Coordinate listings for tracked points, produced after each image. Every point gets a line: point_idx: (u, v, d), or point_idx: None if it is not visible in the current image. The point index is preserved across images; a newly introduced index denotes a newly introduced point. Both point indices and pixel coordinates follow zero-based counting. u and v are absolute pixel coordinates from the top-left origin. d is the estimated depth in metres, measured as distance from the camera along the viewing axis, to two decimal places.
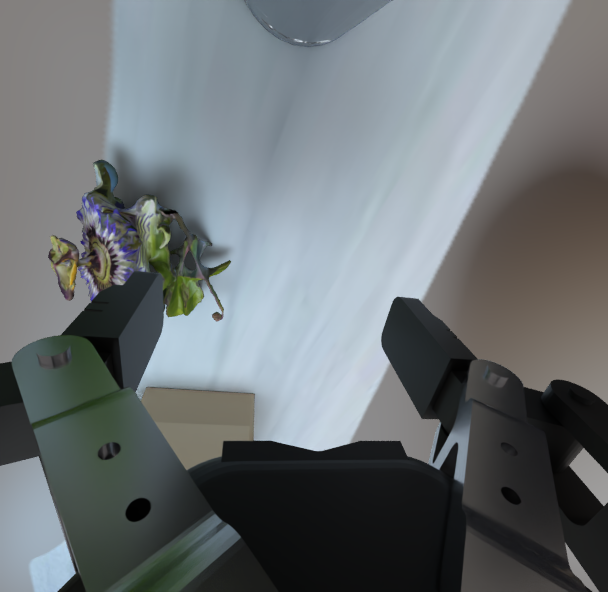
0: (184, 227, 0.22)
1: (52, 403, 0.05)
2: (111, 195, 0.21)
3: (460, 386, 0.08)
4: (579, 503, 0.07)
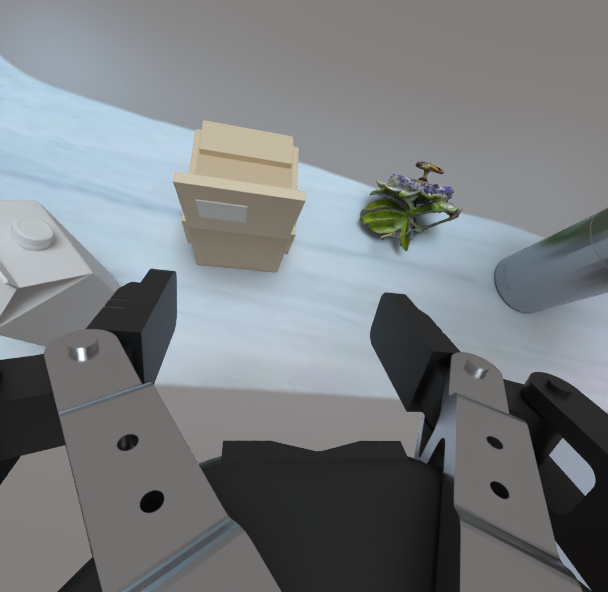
0: (441, 222, 0.44)
1: (78, 393, 0.05)
2: None
3: (442, 379, 0.08)
4: (560, 492, 0.08)
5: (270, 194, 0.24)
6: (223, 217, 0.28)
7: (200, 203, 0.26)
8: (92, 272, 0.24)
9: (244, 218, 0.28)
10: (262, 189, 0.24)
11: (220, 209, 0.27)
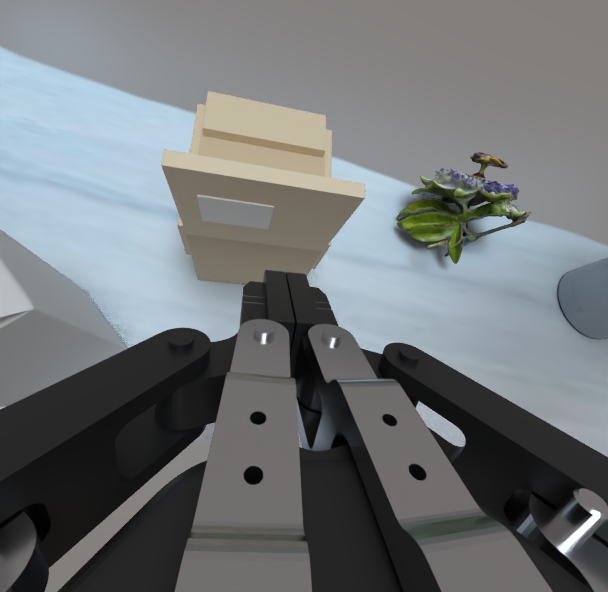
0: (501, 228, 0.35)
1: (246, 366, 0.07)
2: None
3: (303, 349, 0.08)
4: None
5: (312, 187, 0.16)
6: (236, 221, 0.20)
7: (204, 201, 0.17)
8: (33, 307, 0.15)
9: (267, 223, 0.19)
10: (300, 179, 0.16)
11: (233, 210, 0.18)
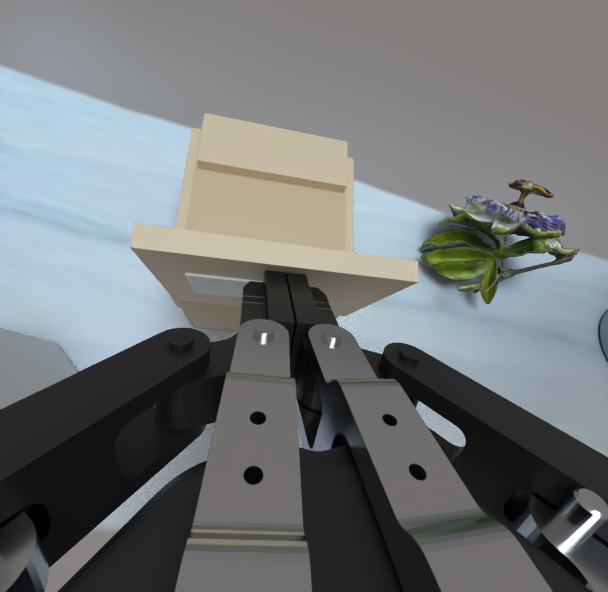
0: (542, 266, 0.31)
1: (246, 366, 0.07)
2: None
3: (303, 349, 0.08)
4: None
5: (347, 270, 0.11)
6: (239, 295, 0.15)
7: (195, 279, 0.13)
8: None
9: None
10: (330, 259, 0.11)
11: (235, 286, 0.13)
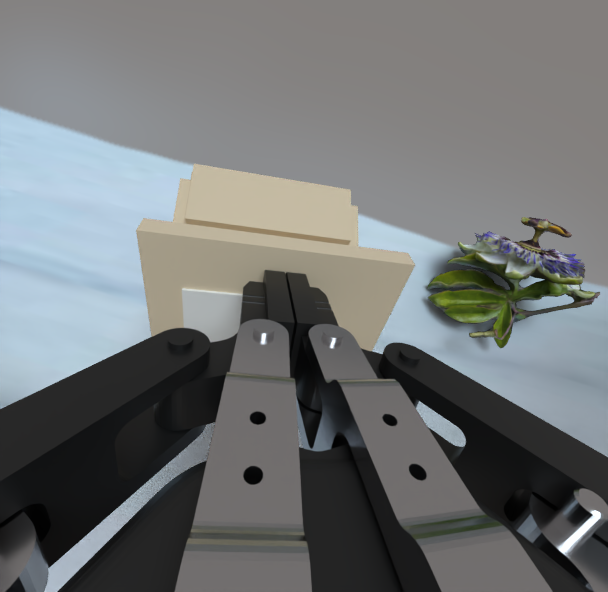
0: (560, 309, 0.29)
1: (246, 366, 0.07)
2: None
3: (304, 349, 0.08)
4: None
5: (344, 255, 0.12)
6: None
7: (191, 299, 0.12)
8: None
9: None
10: (327, 247, 0.12)
11: (232, 314, 0.13)
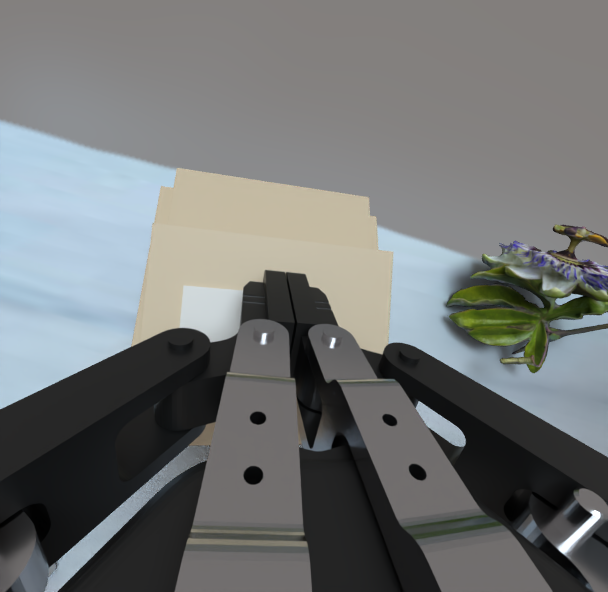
0: (600, 328, 0.25)
1: (246, 366, 0.07)
2: None
3: (303, 349, 0.08)
4: None
5: (331, 246, 0.13)
6: None
7: (191, 297, 0.12)
8: None
9: None
10: None
11: (232, 316, 0.12)
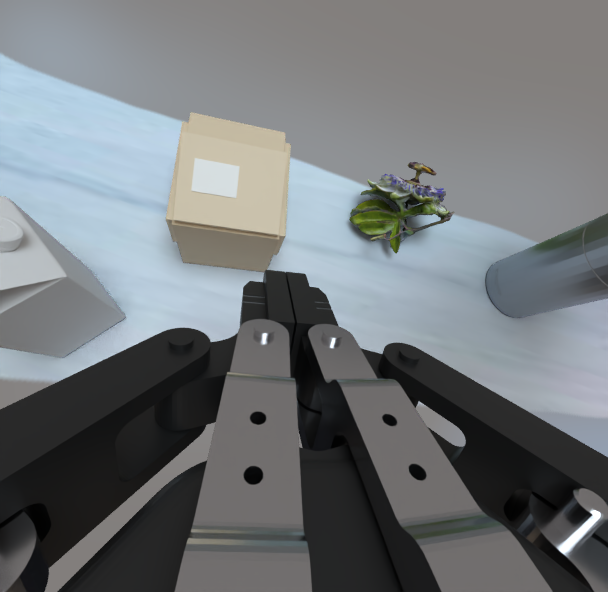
0: (432, 225, 0.43)
1: (246, 366, 0.07)
2: None
3: (303, 349, 0.08)
4: None
5: (259, 148, 0.31)
6: (215, 188, 0.30)
7: (198, 163, 0.29)
8: (66, 275, 0.22)
9: (235, 188, 0.30)
10: None
11: (214, 172, 0.30)
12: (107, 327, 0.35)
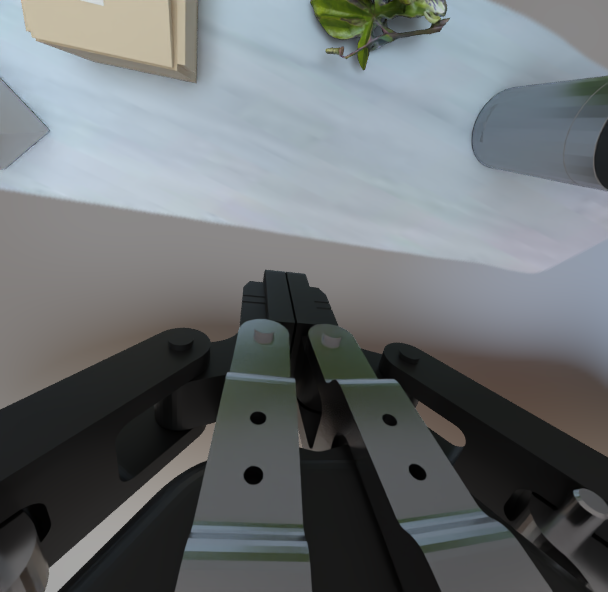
0: (417, 33, 0.31)
1: (246, 366, 0.07)
2: None
3: (303, 349, 0.08)
4: None
5: None
6: None
7: None
8: None
9: None
10: None
11: None
12: (33, 142, 0.35)
